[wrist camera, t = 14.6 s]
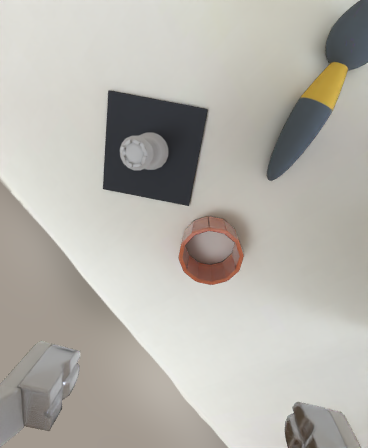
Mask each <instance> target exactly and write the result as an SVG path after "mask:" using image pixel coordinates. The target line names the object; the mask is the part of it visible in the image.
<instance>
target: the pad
mask: <svg viewBox="0 0 368 448" xmlns="http://www.w3.org/2000/svg"><path fill="white" fill-rule="evenodd" d="M207 111H208V109H204V108H199V107H194V106H188V105H183V104H178V103H173V102H167V101H162V100H157V99H152V98H146V97H141V96H136V95H131V94H125V93H120V92H115V91H110V90H109V91H108V108H107V126H106V144H105V162H104V181H103V189H106V190H111V191H116V192H121V193H126V194H131V195H136V196H141V197H146V198H151V199H156V200H161V201H167V202H172V203H177V204H182V205H187V206H189V203H190V198H191V193H192V188H193V183H194V178H195V172H196V167H197V162H198V157H199V152H200V147H201V142H202V137H203V132H204V126H205V121H206V116H207ZM144 133H156V134H158V135H160V136H161V137H162V138H163V139H164V140H165V141H166V144H167V146H168V158H167V160H166V162H165V163H164V164H163V166H162V167H160V168H157V169H155V170H147V169H142V170H132V169H130V168H128V167H127V166H126V165H125V164H124V163H123V161H122V159H121V157H120V147H121V144H122V142H123V141H124V140H125V139H126V138H128V137H130V136H139V135H141V134H144Z"/></svg>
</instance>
